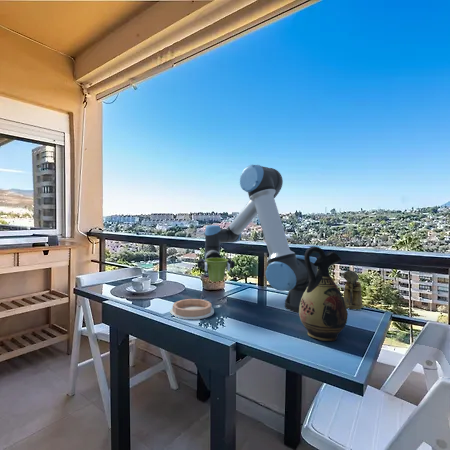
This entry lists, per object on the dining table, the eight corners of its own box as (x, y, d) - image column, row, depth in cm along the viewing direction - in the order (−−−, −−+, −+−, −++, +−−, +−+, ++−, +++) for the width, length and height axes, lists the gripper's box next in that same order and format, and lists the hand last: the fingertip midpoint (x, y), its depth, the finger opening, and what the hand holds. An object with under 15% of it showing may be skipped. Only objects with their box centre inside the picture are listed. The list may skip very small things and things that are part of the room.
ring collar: (222, 310, 123) (222, 302, 123) (196, 322, 108) (196, 314, 107) (189, 302, 132) (189, 295, 132) (160, 313, 117) (160, 305, 117)
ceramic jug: (335, 326, 106) (337, 245, 105) (355, 345, 91) (358, 250, 90) (288, 326, 106) (290, 244, 105) (301, 345, 90) (303, 249, 89)
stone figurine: (337, 310, 125) (338, 268, 125) (343, 302, 136) (344, 264, 136) (359, 314, 120) (361, 271, 120) (364, 306, 132) (365, 266, 131)
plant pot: (224, 283, 116) (225, 262, 115) (202, 282, 118) (202, 260, 117) (229, 278, 125) (230, 258, 124) (208, 277, 127) (209, 257, 126)
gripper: (235, 267, 140) (243, 277, 118) (191, 266, 138) (190, 277, 115) (235, 251, 140) (244, 258, 117) (191, 251, 137) (191, 258, 115)
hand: (217, 268), depth 116 cm, fingers closed on plant pot, 8 cm apart
